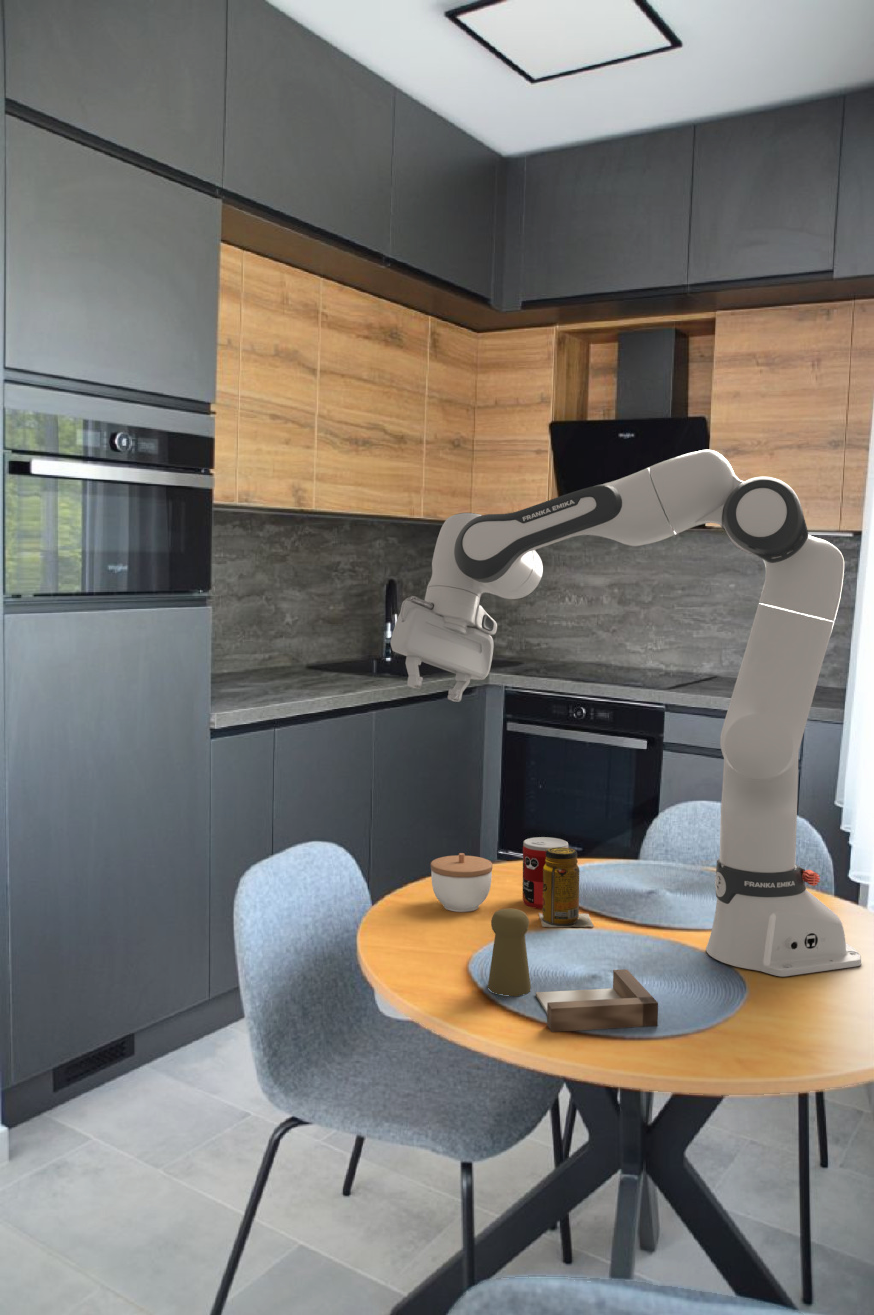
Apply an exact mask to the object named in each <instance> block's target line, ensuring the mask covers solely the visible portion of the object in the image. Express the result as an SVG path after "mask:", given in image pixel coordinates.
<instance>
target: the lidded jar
mask: <svg viewBox="0 0 874 1315" xmlns="http://www.w3.org/2000/svg"><path fill="white" fill-rule="evenodd" d="M430 870H431V873H430V874H431V875H430V876H431V885H432V890H433V894H434V895H435V897H436V899H437V900H438V901H439V903H440V904H441V905H443V908H444V909H445V910H448V911H450V912H455V913H456V912H457V913H468V912H474V911H476V910H478V909H479V906H480V905H482V904H483V903H484V901H486V899H487V897H488V895H489V893H490V890H491V887H492V886H491V885H492V877H493V876H492V872H493V863H492V861H491V860H489V859H487V858H484V857H479V856H474V855H465V853H463V852H460V853H458V855H447V856H442V857H438V858H435V859H433V860H431V862H430Z"/></svg>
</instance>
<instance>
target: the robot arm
mask: <svg viewBox="0 0 874 1315" xmlns="http://www.w3.org/2000/svg"><path fill="white" fill-rule="evenodd" d="M705 524H717V525H719V526H720V527H721V528H722V529H723V530H724V532H725V533H726V534H727V536H728V538H729V539H730V542H732V544H734V546H736V547H737V549H739V550H741V551H743V552H745V553H746V554H750V555H754V556H757V557H758V558H760V559H762V561H763V563H764V566H765V577H764V583H763V587H762V589H761V590H762V591H761V594H760V598H759V601H758V602H759V603H758V605H757V609H756V611H755V615H754V618H753V622H752V625H751V629H750V633H749V636H748V640H747V643H746V647H745V650H744V654H743V658H742V659H741V665H740V667H739V670H738V671H739V672H738V674H737V678H736V681H735V684H734V687H733V690H732V694H731V698H730V701H729V704H728V709H727V712H726V715H725V718H724V722H723V725H722V729H721V732H720V741H719V743H720V750H721V753H722V757H723V771H722V772H723V773H722V789H721V802H720V803H721V804H720V819H719V820H720V822H719V823H720V829H719V858H718V859H717V860H716V866H715V879H714V882H715V883H714V884H715V896H716V905H715V911H714V916H713V917H714V918H713V922H712V923H713V924H712V928H711V931H710V934H709V938H708V941H707V944H706V947H705V951H706V953H707V954H708V955H709V956H710V957H712V958H713V959H714V960H717V961H719V962H721V963H724V964H727V965H730V966H733V967H736V968H742V969H747V970H752V971H759V972H763V973H765V974H768V975H772V976H777V977H790V976H797V975H804V974H805V975H806V974H811V973H818V972H825V971H833V970H839V969H846V968H853V967H859V966H861V965H862V957H861V954H860V953H859V951H858V950H857V949H856V948H854V946H851V945H850V944H849V943H847V942H846V935H845V934H846V933H845V929H844V926H843V922H842V920H841V919H840V917H839V916H838V915H837V914H836V913H835V911H833V910H832V909H830V908H829V907H828V906H827V905H826V904H825V903H823V902H822V901H821V900H819V898H818V897H816V895H814V894H813V893H811V892H810V891H808V889H807V887H806V883H807V884H808V885H809V886H812V887H815V886H818V885H819V884H818V883H820V880H821V878H820V877H821V876H820V875H819V873H817V872H815V871H813V870H811V869H805V868H803V867H801V866H799V865H798V864H796V857H797V856H796V855H797V854H796V853H797V827H798V826H797V824H798V820H797V819H798V785H799V784H798V782H799V753H800V747H801V744H802V741H803V737H804V732H805V729H806V725H807V722H808V717H809V714H810V711H811V708H812V703H813V700H814V695H815V692H816V688H817V684H818V680H819V676H820V672H821V670H822V667H823V663H824V658H825V656H826V652H827V648H828V645H829V642H830V639H831V638H830V637H831V635H832V632H833V629H834V628H833V627H834V625H835V621H836V617H837V613H838V610H839V607H840V606H839V605H840V601H841V596H842V590H843V584H844V582H843V581H844V575H845V573H844V572H845V560H844V556H843V554H842V552H841V551H840V549H839V548H838V547H836V546H835V545H834V544H832V543H830V542H829V541H828V540H825V539H822V538H818V537H815V536H812V535H810V534H809V530H808V526H807V523H806V519H805V516H804V512H803V508H802V503H801V502H800V499H799V497H798V495H797V493H796V492H795V491H794V489H793V488H792V487H791V486H790V485H789V484H787V483H786V482H784V481H782V480H781V479H778V478H776V477H771V476H756V477H752V478H749V479H747V480H745V481H744V480H741V479H739V477H738V476H737V475H736V474H735V472H734V469H733V468H732V465H731V464H730V462H729V461H728V459H727V458H725V457H724V455H723V454H721V453H719V452H718V451H716V450H712V449H702V450H698V451H692V452H688V453H685V454H681V455H678V456H675V457H672V458H669V459H667V460H663V461H661V462H658V463H655V464H653V465H651V466H649V467H646V468H644V469H641V470H639V471H637V472H634V473H632V474H629V475H627V476H624V477H621V478H619V479H616V480H612V481H609V482H605V483H603V484H597V485H594V486H589V487H585V488H582V489H578V490H575V491H572V492H569V493H565V494H563V495H561V496H557V497H555V498H554V497H553V498H551V499H549V500H546V501H543V502H540V503H537V504H535V505H531V506H529V507H526V508H523V509H521V510H516V511H513V512H508V513H492V514H480V513H475V512H474V513H473V512H459V513H455V514H454V515H451V516H449V517H448V518H446V520H445V521H444V522H443V524H442V526H441V528H440V531H439V534H438V537H437V539H436V542H435V543H436V544H435V547H434V550H433V551H434V552H433V556H432V559H431V560H432V561H431V569H432V570H431V571H432V572H431V578H430V580H429V582H428V584H427V586H426V591H425V596H424V599H421V598H419V597H417V596H415V595H414V596H413V595H411V596H410V597H407V598H405V599H404V600H403V601H402V603H401V607H400V613H399V615H398V616H397V620H396V622H395V625H394V628H393V630H392V631H393V632H392V635H391V639H390V647H391V650H392V652H395V653H396V654H399V655H403V656H405V657H406V658H405V668H406V670H407V671H406V672H407V674H408V677H407V684H406V685H407V686H408V687H409V688H413V689H421V687H422V686H423V684H422V683H423V680H424V677H422V676H420V670H419V669H420V668H419V666H421V664H422V663H425V664H428V665H430V666H433V667H436V668H439V669H441V670H443V671H447V672H450V673H452V674H455V679H454V680H455V681H456V683H455V684H454V686H453V688H449V689H448V695H447V699H448V700H450V701H451V702H461V701H462V698H463V697H462V696H463V693H464V691H465V690H466V689H467V687H468V686H469V685H470V683H471V680H476V681H477V680H481V681H482V680H485V679H486V677H488V676H489V675H490V674H489V673H490V671H491V668H492V667H491V666H492V661H493V657H494V656H493V653H494V646H495V645H494V639H493V637H492V635H495V634H496V633H497V630H498V624H497V622H496V621H495V619H493V617H491V616H490V615H489V614H488V613H487V611H486V610H485V609H484V608H483V606H482V605H480V600H481V596H482V595H483V594H484V593H485V594H486V593H487V594H490V595H492V596H493V595H494V596H496V597H499V598H502V599H507V600H514V601H515V600H522V599H525V598H527V597H528V596H530V595H531V594H532V593H533V592H535V590H536V589H537V588H538V587H539V585H540V583H541V582H542V579H543V574H544V565H543V564H544V563H543V560H542V558H541V556H540V555H539V554H538V552H537V551H536V550H538V549H541V548H544V547H546V546H547V547H548V546H550V545H552V544H553V545H554V544H555V543H558V542H561V541H564V540H567V539H571V538H573V537H578V536H587V535H589V536H595V537H596V536H597V537H602V538H605V539H610V540H613V541H616V542H618V543H621V544H623V545H626V546H631V547H639V546H643V545H649V544H654V543H657V542H660V541H663V540H665V539H668V538H671V537H673V536H675V535H678V534H680V533H682V532H685V531H687V530H690V529H692V528H695V527H698V526H701V525H705Z"/></svg>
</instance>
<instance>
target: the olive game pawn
mask: <svg viewBox="0 0 874 1315" xmlns="http://www.w3.org/2000/svg"><path fill="white" fill-rule="evenodd" d="M490 922H491V923H490V924H491V930H492V932H493V934H494V940H493V945H492V946H493V948H492V954H491V962H490V967H489V975H488V981H487V989H488V988H489V989H490V990H491V991H492V992H494V993H497V994H503V995H509V996H514V997H520V996H519V995H522V996H524V995H523V994H525V995H526V994H530V992H531V991H530V989H531V990H532V987H531V985H532V984H531V979H530V978H531V977H530V969H529V961H528V954H527V953H528V951H527V944H526V934H527V932H528V931H529V927H530V926H529V925H530V924H529V923H530V921H529V917H528V915H527V914H526V912H524V911H523V910H520V909H518V908H501V909H498V910H497V911H495V912H494V913H493V914H492V917H491V920H490ZM494 993H493V994H494Z"/></svg>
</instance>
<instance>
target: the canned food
mask: <svg viewBox="0 0 874 1315" xmlns="http://www.w3.org/2000/svg"><path fill="white" fill-rule="evenodd" d="M568 842H569V841H566V840H564V839H561V838H557V837H548V836H547V837H545V836H541V837H540V836H539V837H537V836H536V837H530V838H529V837H528V838H527V839H525V840H523V842H522V843H523V844H522V901H523V904H524V905H526V906H528V907H530V908H533V909H537V910H543V867H544V865H545V864H546V862H545V859H546V854H545V853H546V851H547V850H548V849H550V848H555V847H565V848H569V843H568Z"/></svg>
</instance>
